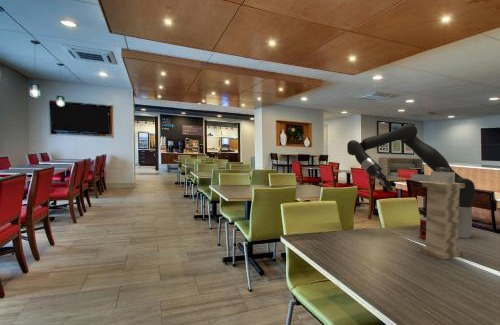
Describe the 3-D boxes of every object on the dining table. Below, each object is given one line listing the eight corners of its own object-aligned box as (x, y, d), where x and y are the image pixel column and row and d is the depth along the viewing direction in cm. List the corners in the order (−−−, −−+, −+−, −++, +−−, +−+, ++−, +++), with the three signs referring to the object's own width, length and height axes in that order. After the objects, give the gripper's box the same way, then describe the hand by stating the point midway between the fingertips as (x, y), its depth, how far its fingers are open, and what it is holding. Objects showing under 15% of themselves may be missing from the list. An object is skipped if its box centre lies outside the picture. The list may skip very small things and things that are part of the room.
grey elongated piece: (417, 179, 140) (417, 166, 139) (454, 183, 123) (455, 167, 123) (408, 180, 137) (409, 166, 137) (446, 183, 121) (446, 168, 120)
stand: (440, 248, 133) (442, 181, 132) (462, 255, 123) (465, 183, 122) (420, 252, 127) (422, 182, 126) (442, 259, 118) (444, 184, 117)
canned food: (431, 237, 152) (431, 217, 152) (439, 241, 144) (440, 220, 144) (416, 236, 153) (417, 217, 152) (424, 240, 145) (425, 220, 144)
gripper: (375, 158, 151) (396, 180, 142) (378, 167, 163) (397, 187, 153) (363, 167, 153) (384, 189, 144) (367, 174, 164) (386, 195, 155)
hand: (391, 188), depth 149 cm, fingers open, 8 cm apart
